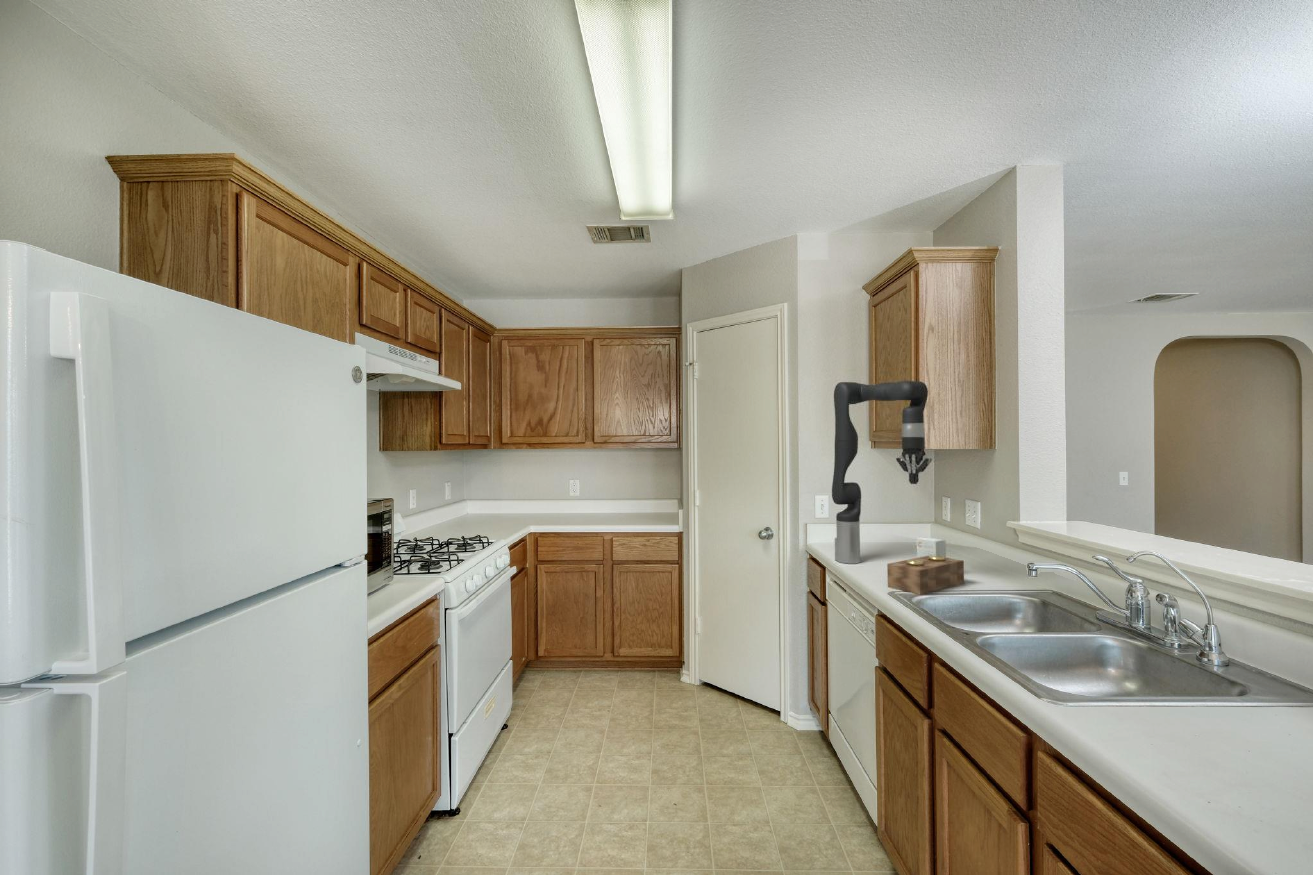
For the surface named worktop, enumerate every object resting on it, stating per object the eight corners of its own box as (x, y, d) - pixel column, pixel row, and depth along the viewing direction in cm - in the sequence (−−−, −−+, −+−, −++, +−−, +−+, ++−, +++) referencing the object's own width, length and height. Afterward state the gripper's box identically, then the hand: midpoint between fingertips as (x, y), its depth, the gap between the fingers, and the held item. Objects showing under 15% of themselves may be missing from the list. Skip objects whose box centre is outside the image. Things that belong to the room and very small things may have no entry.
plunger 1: (903, 585, 187) (903, 560, 187) (912, 583, 189) (912, 559, 189) (917, 588, 182) (917, 563, 182) (926, 586, 185) (925, 561, 185)
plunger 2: (926, 579, 193) (925, 556, 194) (934, 578, 196) (933, 554, 196) (939, 582, 189) (939, 558, 189) (947, 580, 192) (947, 557, 192)
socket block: (887, 586, 187) (887, 563, 188) (931, 576, 201) (931, 555, 201) (920, 594, 177) (919, 570, 177) (964, 583, 191) (963, 560, 191)
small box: (946, 574, 204) (946, 539, 205) (936, 576, 201) (935, 541, 201) (926, 570, 211) (926, 536, 212) (916, 572, 208) (915, 538, 208)
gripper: (890, 436, 200) (891, 483, 200) (924, 435, 189) (925, 485, 189) (902, 436, 204) (903, 482, 204) (936, 435, 193) (937, 484, 193)
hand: (913, 483), depth 196 cm, fingers closed
